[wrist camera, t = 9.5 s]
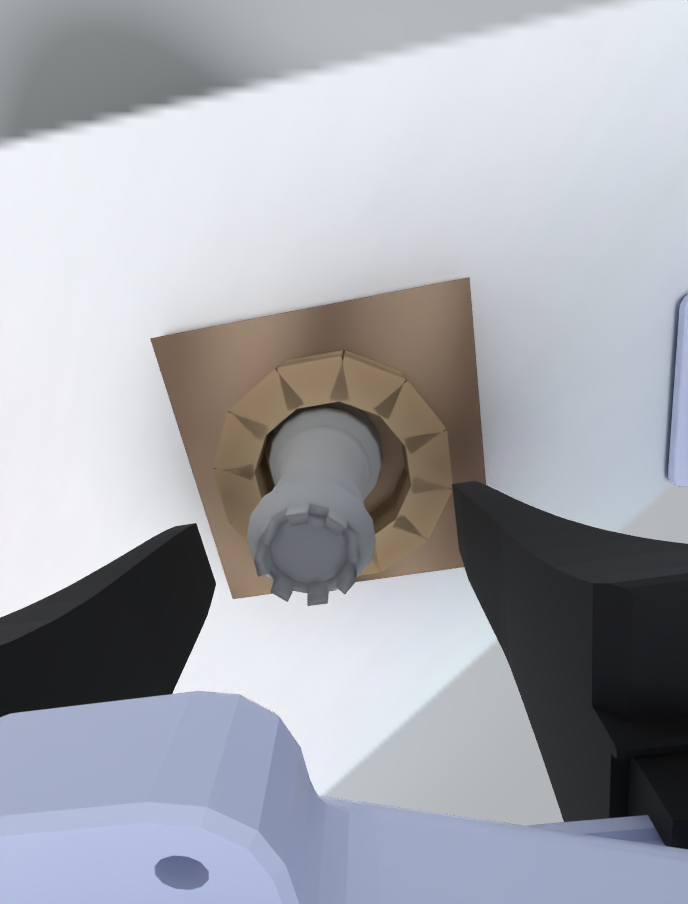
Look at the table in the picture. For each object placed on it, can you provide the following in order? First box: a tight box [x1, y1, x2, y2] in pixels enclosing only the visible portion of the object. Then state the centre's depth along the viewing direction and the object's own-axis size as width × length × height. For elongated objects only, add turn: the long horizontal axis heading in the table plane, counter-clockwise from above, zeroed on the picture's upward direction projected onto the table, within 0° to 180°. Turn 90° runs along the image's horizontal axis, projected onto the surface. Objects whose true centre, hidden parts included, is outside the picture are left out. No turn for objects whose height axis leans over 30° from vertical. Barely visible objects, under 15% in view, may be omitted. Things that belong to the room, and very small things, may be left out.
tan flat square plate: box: [151, 278, 486, 599], centre depth 17 cm, size 12×12×3 cm
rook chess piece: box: [247, 401, 383, 606], centre depth 14 cm, size 4×4×8 cm
